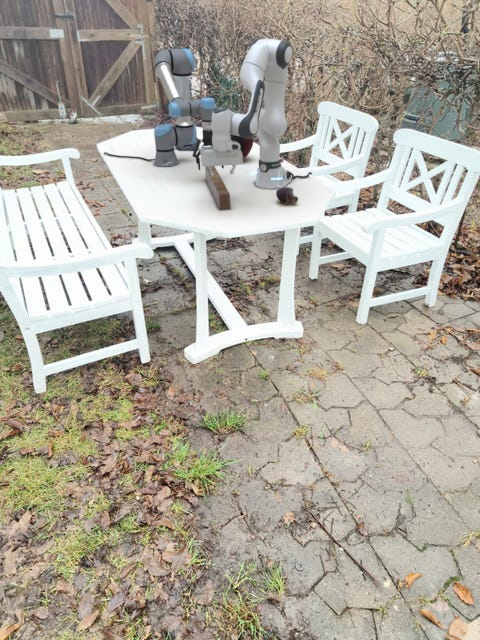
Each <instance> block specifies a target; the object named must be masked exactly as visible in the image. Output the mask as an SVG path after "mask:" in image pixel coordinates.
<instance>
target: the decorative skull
mask: <svg viewBox="0 0 480 640" xmlns="http://www.w3.org/2000/svg"><path fill="white" fill-rule="evenodd" d="M230 136H231V140H232V141H235V142H238V143H239V144H240V146H241V148H240V150H241V151H242V155H243V160H244V159H245V158H248V156H249V155H250V152H251V151H252V148H253V146H254V138H253V137H252V138H250V139H247V138H244V137H241V136H236V135H232V134H231V135H230Z"/></svg>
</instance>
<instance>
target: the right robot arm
mask: <svg viewBox="0 0 480 640" xmlns="http://www.w3.org/2000/svg"><path fill="white" fill-rule="evenodd" d="M293 54H294V51H293V46H292V44H291V43H290V42H288V41H287V40H280V39H276V38H259V37H258V38H255V39H253V40H252V42H250V44H249V47H248V51H247V52H246V55H245V57H244V60H243V62H242V65H241V68H240V71H239V81H240V83H241V85H242V86H243V87H244V88H245V89H246V90H247V91H249V92H250V95H251V96H250V101H249V106H248V110H247V112H246V113H244V114H243V113H238V112H234V111H232V110H230V108H229V107H227V106H218V107H215V109H214V110H213V112H212V132H213V136H212V146H203V145H202V146H203V147H202V146H201V147H202V148H199V150H200V165H201V166H202V167H203V168H205V167H207V166H209V169H210V171H211V175H215V174H214V171H212V170H211V168H212V166H215V167H222V166H224V167H225V166H232V168H231V169H229V174H230V175H234V173H235V172H234V171H235V169H236V167H237V165H242V164H243V163H244V159H243V155H242V151H241V150H240V148H241V146H240V144H239V143H238V142H235V141H232V140H231V136H230V135H231V134H232V135H236V136H241V137H244V138H247V139H250V138H253V137H254V136H255V135H256V134H257V137H258V143H259V158H258V167H257V169H256V171H255V172H251V173H250V174H249V175H250V176H253V175H256V178H255V180H254V184H255V185H256V187H258V188H261V189H272V190H273V189H280V188H283V187H287V185H288V184H289V183H290V182H292V180H294V179H296V178H300V179H306V178H309V176H310V175H313V172H311V171H309V172H308V173H307V175H294V173H293V172H291V171H289V170H287V169H285V168H284V167H283V166H282V163H283V164H284V161H285V160H284V158H280V155H281V143H280V141H279V138H278V136H282V135H284V134H285V133H286V131H287V129H288V121H287V119H286V109H285V108H286V107H285V105H286V104H285V97H286V91H287V83H288V66H289V64H290V63H291V61H292V59H293ZM264 76H265V78H264ZM263 102H264V108H263V109H262V106H263Z"/></svg>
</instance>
